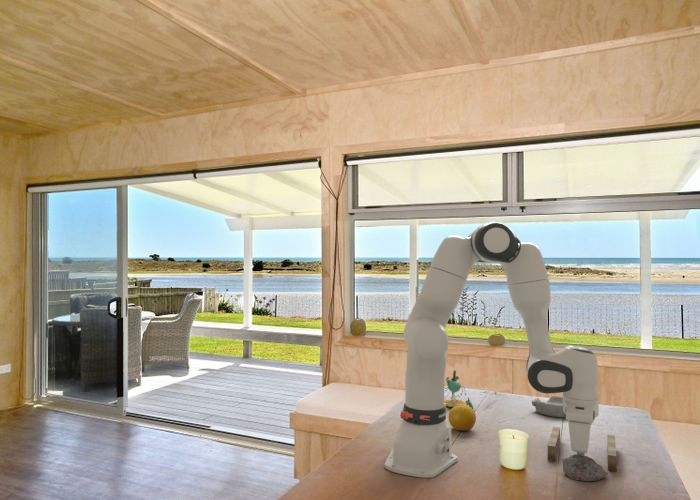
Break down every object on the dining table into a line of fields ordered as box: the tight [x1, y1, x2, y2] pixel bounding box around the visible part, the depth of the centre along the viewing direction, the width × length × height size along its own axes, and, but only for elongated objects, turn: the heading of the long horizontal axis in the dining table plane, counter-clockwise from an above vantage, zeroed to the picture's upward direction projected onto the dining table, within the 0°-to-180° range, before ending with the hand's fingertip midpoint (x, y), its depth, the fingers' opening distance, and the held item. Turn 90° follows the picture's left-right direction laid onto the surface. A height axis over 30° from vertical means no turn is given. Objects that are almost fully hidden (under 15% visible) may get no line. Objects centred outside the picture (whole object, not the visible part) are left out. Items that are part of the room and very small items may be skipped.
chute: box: [547, 426, 618, 472], centre depth 144 cm, size 18×17×4 cm
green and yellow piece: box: [444, 369, 476, 413], centre depth 193 cm, size 10×18×15 cm, turn 22°
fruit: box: [447, 405, 477, 432], centre depth 165 cm, size 9×8×8 cm
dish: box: [531, 395, 566, 418], centre depth 184 cm, size 14×14×5 cm
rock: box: [561, 453, 609, 482], centre depth 130 cm, size 9×11×4 cm
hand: (580, 458), depth 136 cm, fingers closed
